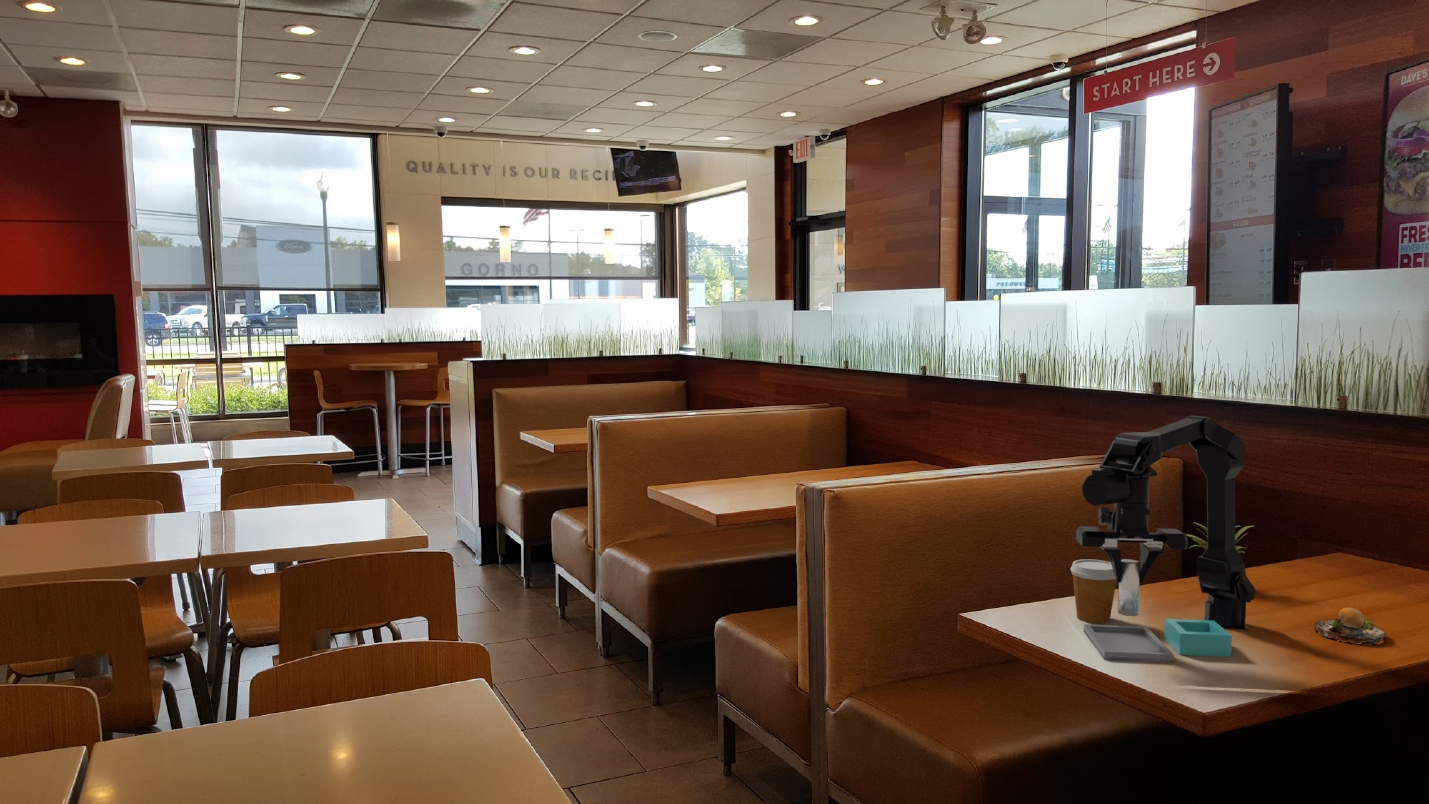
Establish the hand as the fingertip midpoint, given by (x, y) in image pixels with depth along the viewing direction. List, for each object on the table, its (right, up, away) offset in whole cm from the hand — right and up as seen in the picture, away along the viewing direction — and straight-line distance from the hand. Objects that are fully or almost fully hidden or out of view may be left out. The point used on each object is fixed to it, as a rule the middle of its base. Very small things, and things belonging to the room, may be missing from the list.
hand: (1129, 582), depth 184 cm
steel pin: (0, -6, 0) cm, 6 cm away
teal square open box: (+13, -13, 0) cm, 18 cm away
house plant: (+40, -9, +43) cm, 59 cm away
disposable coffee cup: (0, -12, +18) cm, 22 cm away
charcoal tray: (0, -13, +1) cm, 13 cm away
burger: (+47, -13, +9) cm, 50 cm away
